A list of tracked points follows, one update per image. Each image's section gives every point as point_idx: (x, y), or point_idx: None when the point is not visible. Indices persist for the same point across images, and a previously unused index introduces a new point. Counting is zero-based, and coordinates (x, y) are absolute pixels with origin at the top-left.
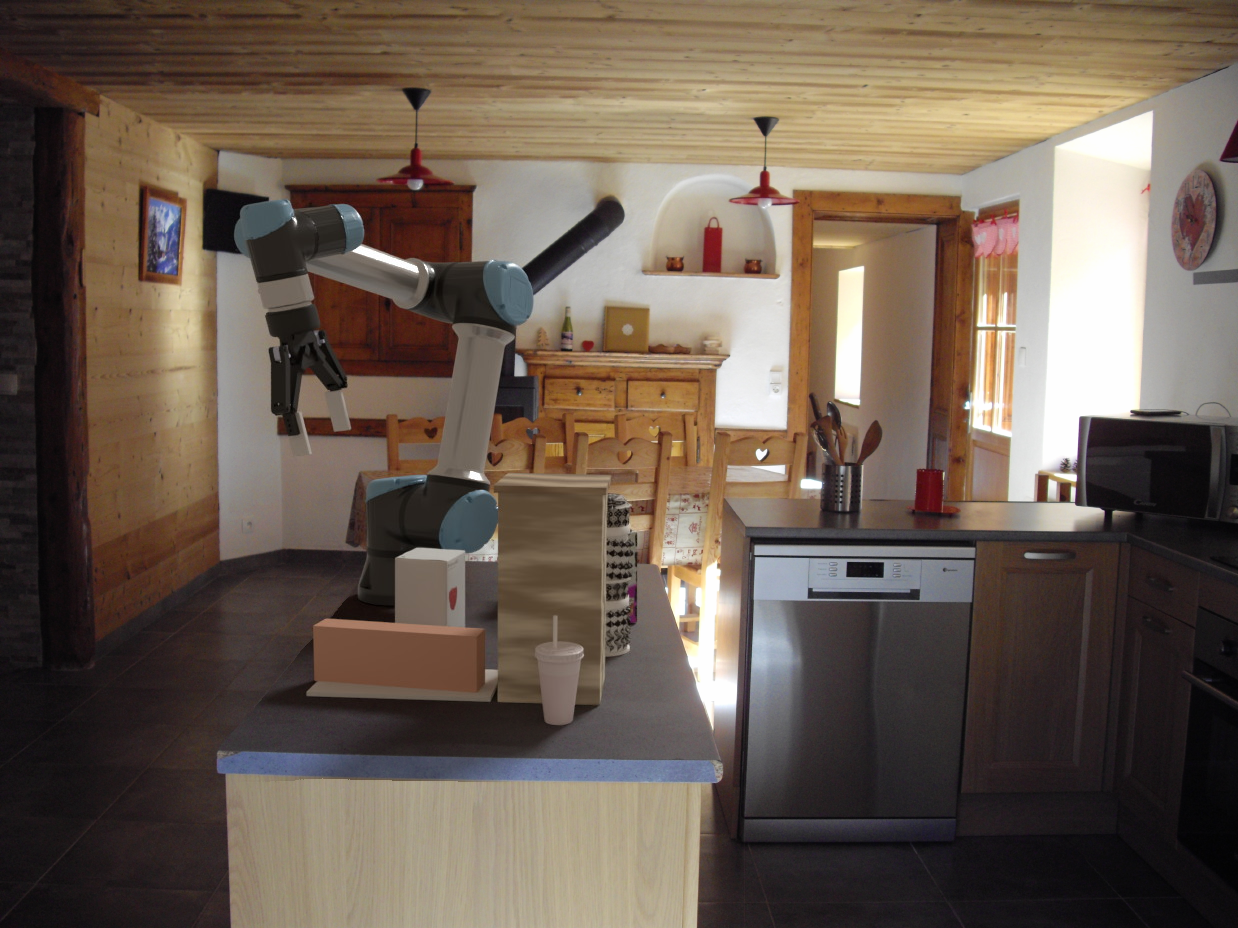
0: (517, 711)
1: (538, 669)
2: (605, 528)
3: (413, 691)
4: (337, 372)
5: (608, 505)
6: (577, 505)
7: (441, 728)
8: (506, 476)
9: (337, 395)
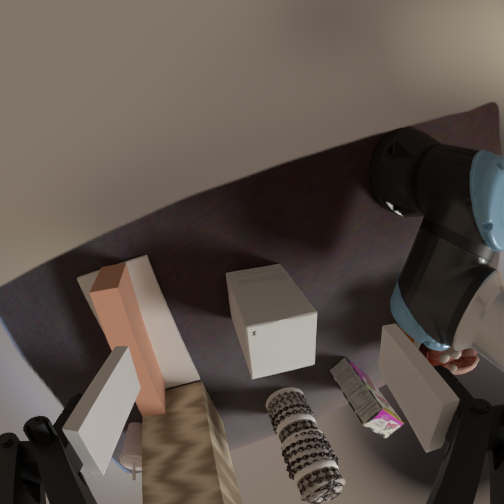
0: (135, 408)
1: (127, 445)
2: None
3: None
4: (493, 473)
5: (306, 500)
6: None
7: (85, 385)
8: None
9: (423, 432)
